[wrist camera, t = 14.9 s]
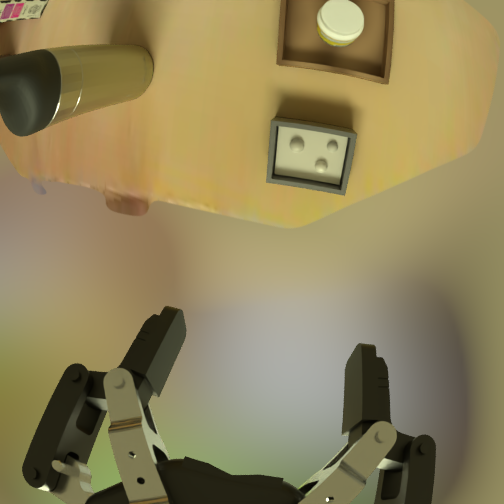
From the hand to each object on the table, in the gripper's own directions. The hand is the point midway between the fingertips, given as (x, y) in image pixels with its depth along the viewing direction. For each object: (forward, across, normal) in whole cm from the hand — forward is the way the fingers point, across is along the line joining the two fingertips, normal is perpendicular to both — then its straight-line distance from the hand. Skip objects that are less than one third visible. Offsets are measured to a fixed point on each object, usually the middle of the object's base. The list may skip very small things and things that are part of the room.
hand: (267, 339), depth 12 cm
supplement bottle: (+28, -2, -18) cm, 33 cm away
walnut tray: (+28, -2, -18) cm, 33 cm away
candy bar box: (+28, +54, -36) cm, 71 cm away
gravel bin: (+28, -1, -1) cm, 28 cm away
